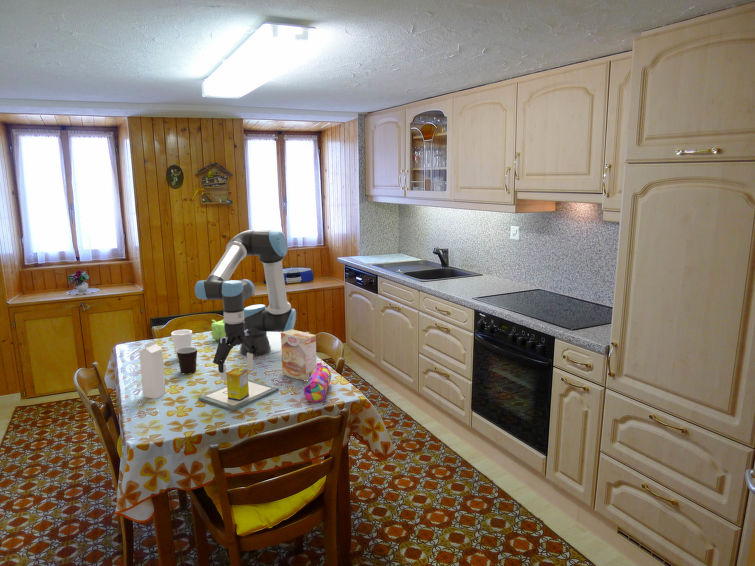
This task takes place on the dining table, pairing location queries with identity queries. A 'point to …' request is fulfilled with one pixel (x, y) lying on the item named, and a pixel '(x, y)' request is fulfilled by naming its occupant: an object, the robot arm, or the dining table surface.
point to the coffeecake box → (298, 354)
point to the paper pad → (221, 400)
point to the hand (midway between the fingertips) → (237, 374)
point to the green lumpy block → (218, 329)
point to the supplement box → (237, 384)
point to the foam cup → (181, 339)
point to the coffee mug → (187, 359)
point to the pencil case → (317, 383)
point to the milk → (152, 371)
